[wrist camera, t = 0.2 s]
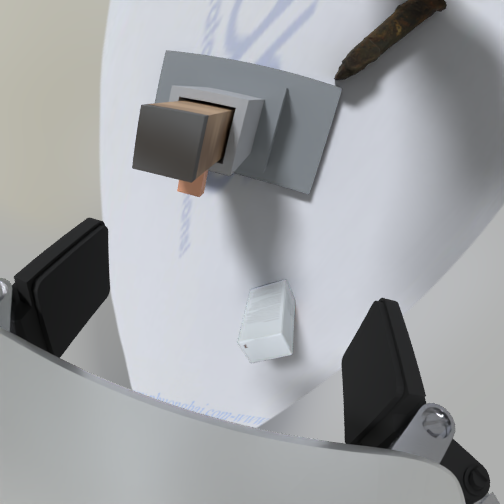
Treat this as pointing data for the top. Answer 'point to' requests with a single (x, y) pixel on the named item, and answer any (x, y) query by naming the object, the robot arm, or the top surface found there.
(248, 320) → the skincare box
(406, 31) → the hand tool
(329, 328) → the top surface
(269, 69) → the stand base
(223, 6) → the top surface
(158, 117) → the post
